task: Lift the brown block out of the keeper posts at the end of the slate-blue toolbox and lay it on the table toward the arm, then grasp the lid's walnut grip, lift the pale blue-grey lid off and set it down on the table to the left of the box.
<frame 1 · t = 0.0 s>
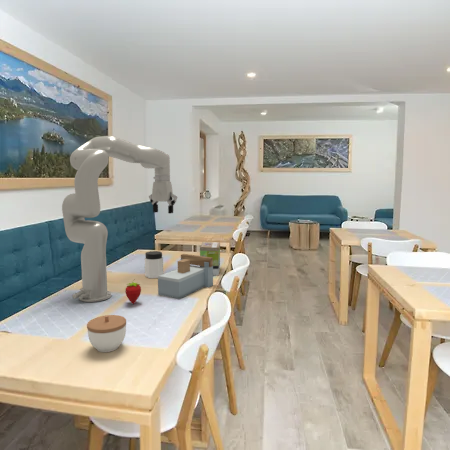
hand: (163, 212, 182), 31 cm above the table, fingers open, 9 cm apart
lidded jar: (108, 347, 104), on the table
brown block: (196, 264, 165), point 9 cm above the table, touching toolbox
strawberry: (133, 304, 140), on the table
toolbox: (184, 289, 157), on the table
tea box: (210, 272, 188), on the table
jar: (154, 276, 179), on the table
lid: (183, 274, 156), point 7 cm above the table, touching toolbox
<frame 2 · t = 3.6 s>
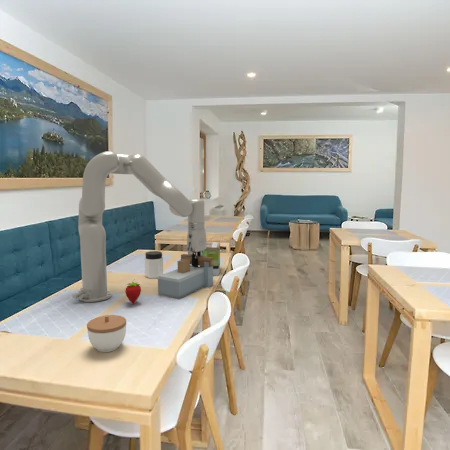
hand: (196, 265, 165), 9 cm above the table, fingers closed on brown block, 2 cm apart
brown block: (196, 264, 165), point 9 cm above the table, touching gripper, toolbox
everything else where it was.
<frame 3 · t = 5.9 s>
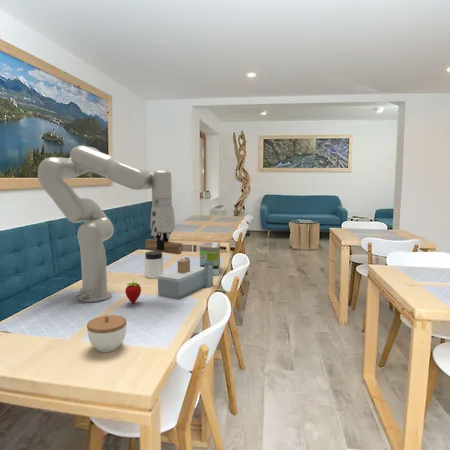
hand: (162, 249, 141), 21 cm above the table, fingers closed on brown block
brown block: (163, 251, 141), point 20 cm above the table, touching gripper
everything else where it was.
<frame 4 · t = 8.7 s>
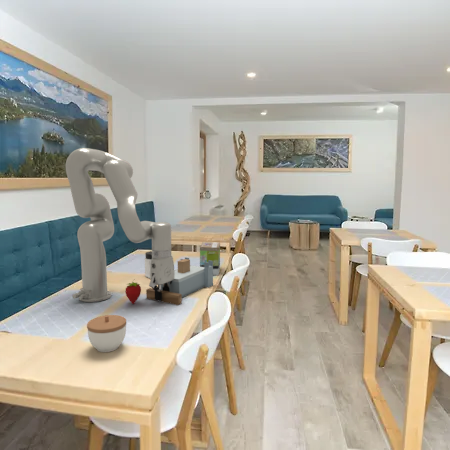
hand: (162, 298, 143), 1 cm above the table, fingers open, 4 cm apart
brown block: (163, 301, 143), on the table
lid: (184, 274, 156), point 7 cm above the table, touching gripper, toolbox
everything else where it was.
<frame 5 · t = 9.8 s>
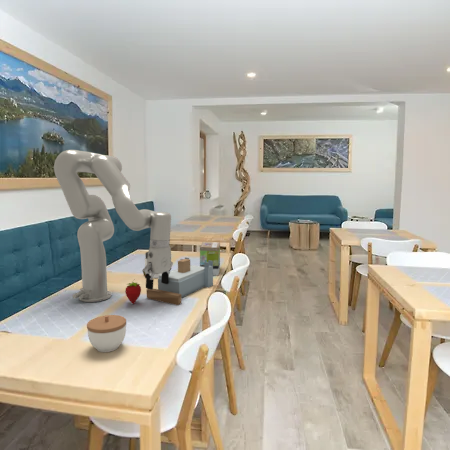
hand: (157, 285, 142), 6 cm above the table, fingers open, 8 cm apart
lid: (184, 274, 157), point 7 cm above the table, touching toolbox
everything else where it was.
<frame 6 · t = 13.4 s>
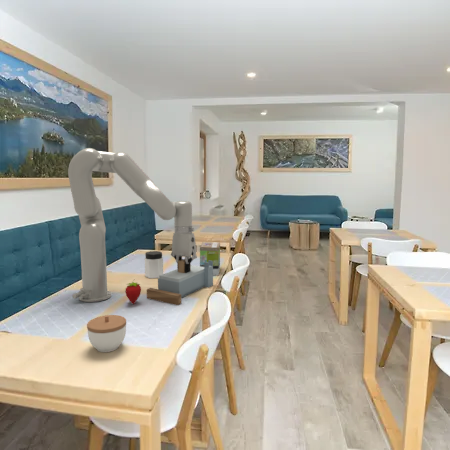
hand: (183, 271, 156), 8 cm above the table, fingers closed on lid, 3 cm apart
lid: (184, 274, 157), point 7 cm above the table, touching gripper, toolbox
everything else where it was.
when the fingers open (3 cm above the table, at t = 18.6 s): lid drops 2 cm, on the table.
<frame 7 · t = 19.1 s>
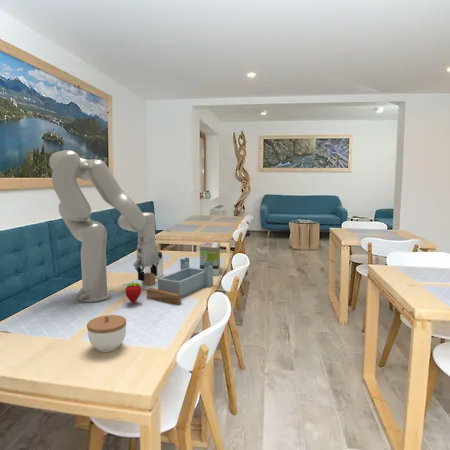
hand: (147, 277, 163), 4 cm above the table, fingers open, 8 cm apart
lid: (148, 287, 163), on the table
everything else where it was.
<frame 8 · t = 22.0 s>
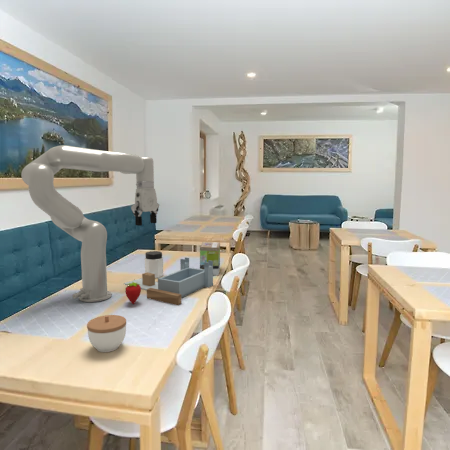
hand: (146, 224, 160), 28 cm above the table, fingers open, 9 cm apart
at the end: brown block inside the target area (0.4 cm from its centre), on the table; lid inside the target area (0.4 cm from its centre), on the table; lid tilted 0° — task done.
